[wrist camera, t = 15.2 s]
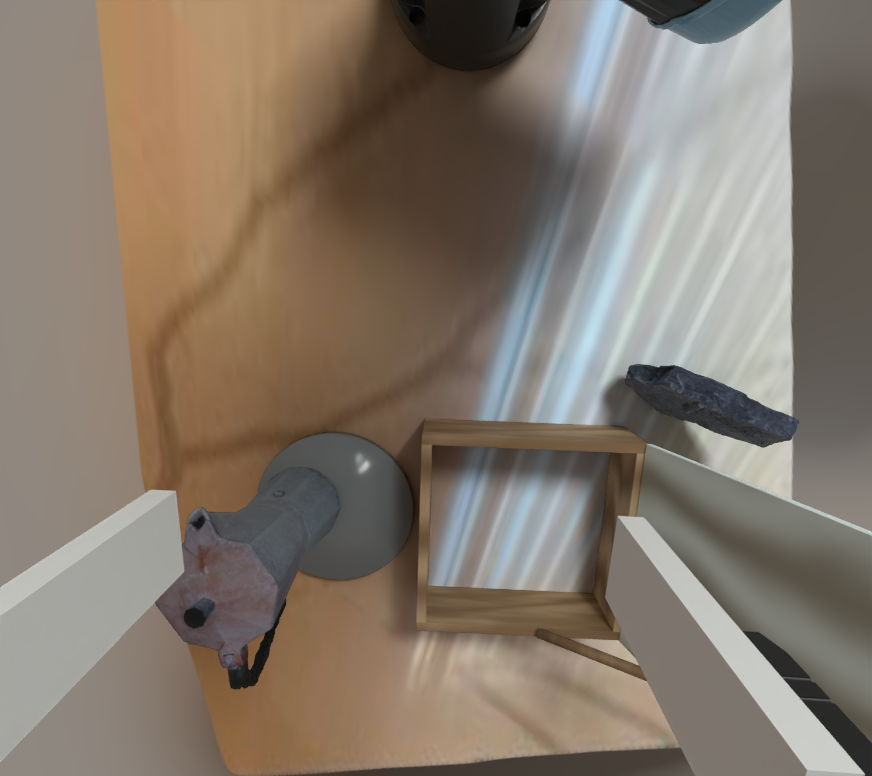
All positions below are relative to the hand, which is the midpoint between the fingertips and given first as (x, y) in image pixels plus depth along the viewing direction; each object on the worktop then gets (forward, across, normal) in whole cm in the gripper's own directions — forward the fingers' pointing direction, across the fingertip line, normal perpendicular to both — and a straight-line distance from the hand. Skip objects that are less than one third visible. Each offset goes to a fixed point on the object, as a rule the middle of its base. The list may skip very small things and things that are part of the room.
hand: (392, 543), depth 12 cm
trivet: (+33, -11, -17) cm, 39 cm away
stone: (+34, +26, -2) cm, 43 cm away
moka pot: (+32, -14, -17) cm, 39 cm away
